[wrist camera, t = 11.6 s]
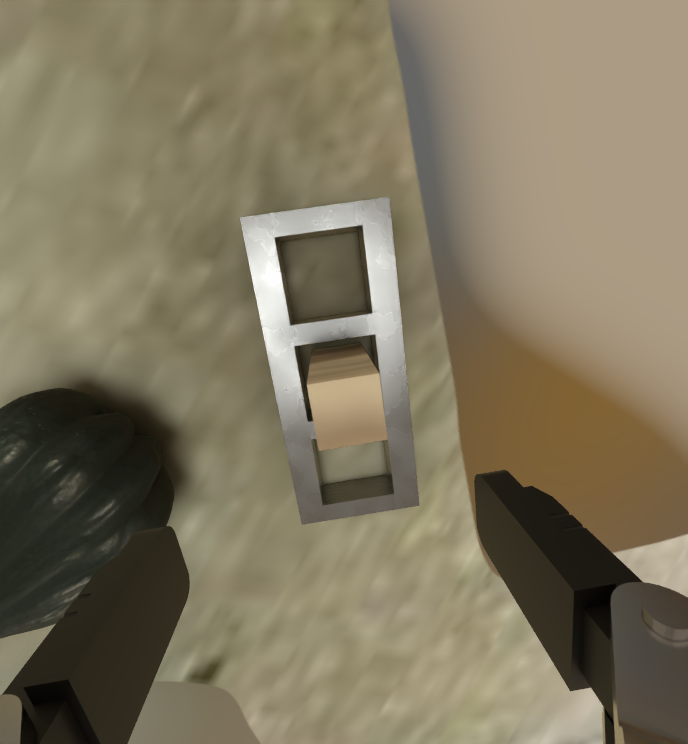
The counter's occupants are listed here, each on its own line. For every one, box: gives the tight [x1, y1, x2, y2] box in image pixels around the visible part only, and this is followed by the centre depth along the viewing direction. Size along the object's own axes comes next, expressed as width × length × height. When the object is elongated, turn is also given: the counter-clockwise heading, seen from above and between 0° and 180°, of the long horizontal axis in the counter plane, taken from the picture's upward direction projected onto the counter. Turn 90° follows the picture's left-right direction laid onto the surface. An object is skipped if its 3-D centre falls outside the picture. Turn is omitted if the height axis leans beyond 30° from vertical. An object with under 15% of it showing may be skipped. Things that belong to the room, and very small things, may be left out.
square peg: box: [307, 342, 388, 451], centre depth 24 cm, size 4×4×10 cm
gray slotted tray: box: [240, 197, 419, 525], centre depth 28 cm, size 24×10×3 cm, turn 8°
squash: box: [0, 388, 174, 638], centre depth 24 cm, size 14×15×15 cm
